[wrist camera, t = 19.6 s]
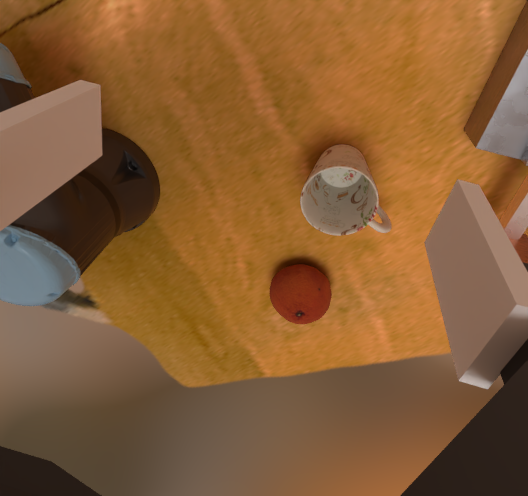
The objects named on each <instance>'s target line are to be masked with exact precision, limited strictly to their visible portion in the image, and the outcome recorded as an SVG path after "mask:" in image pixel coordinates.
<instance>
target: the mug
mask: <svg viewBox="0 0 528 496" xmlns="http://www.w3.org/2000/svg"><path fill="white" fill-rule="evenodd" d="M300 203H301V209H302V212H303V214H304V216H305V218H306V219H307V221H308V222H309V223H310V224H311V225H312V226H313V227H315V228H316V229H318V230H319V231H321V232H324V233H327V234H331V235H348V234H352V233H355V232H357V231H359V230H361V229H363V228H364V227H365V226H367V225H369V226H371V227H372V228H373V229H375V230H376V231H378V232H382V233H387V232H389V231H390V230H391V222H390V219H389V217H388V216H387V214H386V213H385V212H384V210H383V209H382V208H381V207H380V206H379V204H378V203H379V197H378V191H377V188H376V185H375V183H374V180H373V178H372V175H371V173H370V171H369V168H368V166H367V163H366V161H365V159H364V157H363V155H362V154H361V152H360V151H359V150H357V149H356V148H355V147H352V146H350V145H345V144H340V145H335V146H332V147H330V148H328V149H327V150H326V151H324V152H323V154H322V155H321V156H320V158H319V160H318V161H317V163H316V165H315V167H314V168H313V170H312V172H311V174H310V175H309V177H308V179H307V181H306V182H305V184H304V186H303V189H302V192H301V198H300ZM376 212H377V213H378V214H379V216H380V217H381V219H382V222H383V223H378V222H376V221H375V220H374V219H373V218H374V216H375V214H376Z"/></svg>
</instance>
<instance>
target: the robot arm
mask: <svg viewBox="0 0 528 496" xmlns="http://www.w3.org/2000/svg"><path fill="white" fill-rule="evenodd" d="M31 88H32V87H31V85H30V83H29V82H28V81H27V80H25V78H24V76H23V74H22V72H21V70H20V68H19V66H18V64H17V62H16V60H15V58H14V56H13V55H12V53H11V52H10V50H9V49H8V48H7V47H6V46H5V45H3V44H2V43H0V300H2V301H5V302H8V303H12V304H16V305H22V306H39V305H44V304H48V303H50V302H52V301H54V300H56V299H57V298H59V297H60V296H61V295H62V294H63V293H64V292H65V291H66V290H67V289H68V288H69V287H71V286H72V285H74V284H75V283H76V282H77V281H78V280H79V278H80V276H81V275H82V273H83V272H84V271H85V270H86V269H87V268H88V267H89V265H90V264H91V263H92V262H93V261H94V260H95V259H96V257H97V256H98V255H99V254H100V253H101V252H102V251H103V249H104V248H105V247H106V246H107V245H108V244H109V243H110V242H111V240H112V239H113V238H114V237H116V236H118V235H120V234H122V233H123V232H127V231H130V230H133V229H135V228H137V227H139V226H140V225H142V224H143V223H144V222H145V221H146V220H147V219H148V218H149V216H150V215H151V214H152V213H153V211H154V210H155V208H156V206H157V204H158V200H159V194H160V188H159V181H158V177H157V174H156V171H155V169H154V167H153V165H152V163H151V162H150V160H149V159H148V157H147V156H146V155H145V153H144V152H143V151H142V150H141V149H140V148H139V147H138V146H137V145H136V144H135V143H133V142H132V141H131V140H129V139H128V138H126V137H124V136H123V135H121V134H119V133H116V132H114V131H111V130H107V129H102V122H101V85H99V84H95V83H91V82H87V81H84V80H78V81H76V82H73V83H71V84H68V85H66V86H64V87H61V88H59V89H56V90H54V91H51V92H49V93H47V94H44V95H42V96H39V97H37V98H34V96H33V94H32V92H31ZM425 247H426V251H427V255H428V259H429V263H430V267H431V271H432V275H433V279H434V283H435V287H436V291H437V295H438V299H439V303H440V307H441V312H442V316H443V320H444V324H445V328H446V332H447V336H448V340H449V344H450V348H451V352H452V356H453V360H454V364H455V368H456V372H457V376H458V381H461V382H464V383H468V384H472V385H475V386H479V387H482V388H486V389H488V388H489V387H490V386H491V384H492V383H493V382H494V381H495V380H496V379H497V377H498V376H499V375H500V374H501V377H502V379H503V382H504V386H503V387H502V388H501V389H500V390H499V391H498V392H497V393H496V394H495V396H494V397H493V398H492V399H491V400H490V401H489V402H488V403H487V404H486V405H485V406H484V407H483V408H482V409H481V410H480V411H479V413H478V414H477V415H476V416H475V417H474V418H473V419H472V420H471V421H470V422H469V423H468V424H467V425H466V426H465V428H464V429H463V430H462V431H461V432H460V433H459V434H458V435H457V436H456V437H455V438H454V439H453V440H452V441H451V442H450V443H449V444H448V446H447V447H446V448H445V449H444V450H443V451H442V452H441V453H440V454H439V455H438V456H437V457H436V458H435V459H434V461H432V463H431V464H430V465H429V466H428V467H427V468H426V469H425V470H424V471H423V472H422V473H421V474H420V475H419V476H418V478H417V479H416V480H415V481H414V482H413V483H412V484H411V485H410V486H409V487H408V488H407V489H406V490H405V491H404V492H403V493H402V495H401V496H528V263H524V262H522V261H521V259H520V257H519V256H518V254H517V252H516V250H515V248H514V247H513V245H512V243H511V241H510V240H509V238H508V236H507V234H506V232H505V231H504V229H503V227H502V225H501V223H500V222H499V220H498V218H497V216H496V215H495V213H494V211H493V209H492V207H491V206H490V204H489V202H488V200H487V198H486V197H485V195H484V193H483V191H482V190H481V188H480V186H479V185H477V184H473V183H469V182H466V181H462V180H458V179H457V181H456V183H455V185H454V187H453V189H452V191H451V193H450V195H449V197H448V198H447V200H446V202H445V204H444V206H443V208H442V210H441V212H440V214H439V216H438V218H437V220H436V221H435V223H434V225H433V227H432V229H431V231H430V233H429V235H428V237H427V239H426V241H425ZM0 496H101V495H99V494H98V493H96V492H95V491H93V490H92V489H91V488H89V487H88V486H86V485H85V484H83V483H82V482H80V481H79V480H78V479H76V478H75V477H73V476H72V475H70V474H69V473H67V472H66V471H64V470H63V469H62V468H60V467H59V466H57V465H56V464H54V463H53V462H51V461H48V460H44V459H41V458H38V457H34V456H31V455H28V454H24V453H21V452H17V451H14V450H11V449H7V448H4V447H1V446H0Z"/></svg>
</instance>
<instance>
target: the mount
mask: <svg viewBox="0 0 528 496" xmlns="http://www.w3.org/2000/svg"><path fill="white" fill-rule="evenodd" d="M464 131H465V132H466V134H467V135H468V137H469V138H470V140H471V141H472V143H473V144H474V146H475V148H478V149H482V150H485V151H489V152H493V153H497V154H501V155H505V156H508V157H512V158H516V159H520V160H521V161H522V162H523V163H524V164H525V165H526V166H528V0H527V2H526V4H525V6H524V8H523V10H522V12H521V14H520V16H519V18H518V20H517V22H516V24H515V26H514V28H513V31H512V33H511V35H510V37H509V39H508V41H507V43H506V45H505V47H504V49H503V51H502V53H501V55H500V57H499V59H498V61H497V63H496V65H495V67H494V69H493V71H492V73H491V75H490V77H489V79H488V81H487V83H486V85H485V87H484V89H483V91H482V93H481V95H480V97H479V99H478V102H477V104H476V106H475V108H474V110H473V112H472V114H471V116H470V118H469V120H468V122H467V124H466V126H465V128H464Z"/></svg>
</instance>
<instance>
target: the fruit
mask: <svg viewBox="0 0 528 496" xmlns="http://www.w3.org/2000/svg"><path fill="white" fill-rule="evenodd" d="M331 295H332V294H331V289H330V283H329V281H328V279H327V277H326V276H325V275H324V274H323V273H321V272H320V271H318V270H317V269H316V268H314V267H311V266H308V265H303V264H298V265H291V266H288V267H286V268H284V269H282V270H280V271H279V272H278V273H277V274H276V275H275V277H274V278H273V279H272V282H271V286H270V299H271V302H272V304H273V306H274V308H275V309H276V311H277V312H278V313H279V314H280V315H281V316H283V317H284V318H285V319H286V320H288V321H290V322H292V323H295V324H307V323H311V322H313V321H316V320H318V319H320V318H321V317H322V316H323V315H324V314H325V313H326V311H327V310H328V308H329V305H330V301H331Z"/></svg>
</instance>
